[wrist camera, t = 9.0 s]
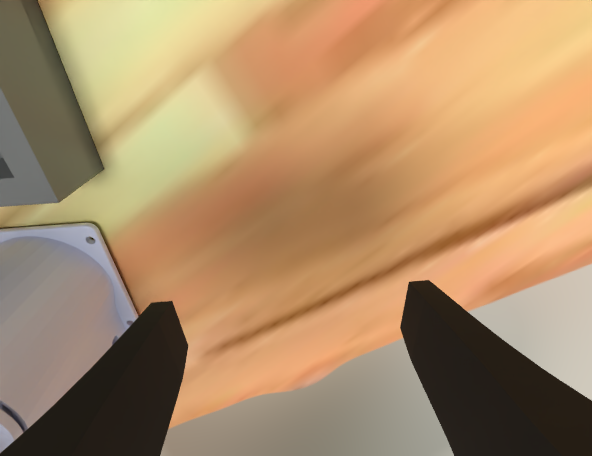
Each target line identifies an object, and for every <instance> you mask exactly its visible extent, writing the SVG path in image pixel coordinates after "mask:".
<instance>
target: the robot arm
mask: <svg viewBox="0 0 592 456" xmlns="http://www.w3.org/2000/svg"><path fill="white" fill-rule="evenodd" d="M90 237H92V238H94V239H95V240H92V239H90ZM400 328H401V331H402V334H403V338H404V341H405V344H406V347H407V350H408V353H409V356H410V359H411V361H412V363H413V366H414V368H415V370H416V372H417V374H418V377H419V379H420V381H421V383H422V385H423V388H424V390H425V392H426V394H427V396H428V398H429V400H430V403H431V404H432V407H433V409H434V411H435V413H436V415H437V418H438V420H439V422H440V424H441V426H442V428H443V431H444V433H445V435H446V437H447V439H448V442H449V444H450V447H451V448H452V451H453V453H454V456H592V401H591V400H590V399H588V398H587V397H585V396H583V395H582V394H580V393H579V392H577V391H576V390H574V389H573V388H571V387H570V386H568V385H566V384H565V383H563V382H562V381H560V380H559V379H557V378H556V377H554V376H553V375H551V374H549V373H548V372H547V371H545V370H544V369H542V368H541V367H539V366H538V365H537V364H535V363H534V362H533V361H531V360H530V359H528V358H527V357H526V356H524V355H523V354H521V353H520V352H519V351H517V350H516V349H514V348H513V347H512V346H510V345H509V344H508V343H506V342H505V341H504V340H502V339H501V338H500V337H499V336H497V335H496V334H494V333H493V332H492V331H491V330H489V329H488V328H487V327H486V326H484V325H483V324H482V323H481V322H479V321H478V320H477V319H476V318H474V317H473V316H472V315H470V314H469V313H468V312H467V311H466V310H464V309H463V308H462V307H461V306H460V305H458V304H457V303H456V302H455V301H454V300H452V299H451V298H450V297H449V296H447V295H446V294H445V293H444V292H443V291H441V290H440V289H439V288H438V287H437V286H435V285H434V284H433V283H432V282H430V281H429V280H425V281H413V282H409V284H408V290H407V295H406V300H405V306H404V311H403V316H402V321H401V327H400ZM187 350H188V344H187V341H186V338H185V335H184V333H183V330H182V327H181V324H180V322H179V319H178V316H177V313H176V311H175V308H174V305H173V302H172V301H168V302H155V303H151V304H150V305H149V306H148V307H147V308H146V309H145V310H144V311H143V313H142V314H141V315H140V316H138V314H137V312H136V310H135V308H134V305H133V303H132V301H131V299H130V297H129V295H128V292H127V290H126V288H125V286H124V284H123V281H122V279H121V277H120V275H119V273H118V270H117V268H116V266H115V264H114V262H113V260H112V257H111V255H110V253H109V251H108V249H107V246H106V244H105V242H104V240H103V238H102V235H101V233H100V231H99V229H98V228H97V226H95V225H94V224H92V223H75V224H62V225H48V226H34V227H21V228H7V229H0V456H160V454H161V450H162V447H163V444H164V440H165V437H166V434H167V430H168V427H169V424H170V420H171V417H172V414H173V410H174V407H175V404H176V400H177V397H178V393H179V390H180V386H181V383H182V379H183V374H184V368H185V363H186V356H187Z"/></svg>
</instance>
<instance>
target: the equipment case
mask: <svg viewBox="0 0 592 456" xmlns="http://www.w3.org/2000/svg"><path fill="white" fill-rule="evenodd" d="M103 169H104V168H103V165H102V163H101V160H100V158H99V155H98V152H97V150H96V147H95V145H94V142H93V140H92V137H91V135H90V132H89V130H88V127H87V125H86V122H85V120H84V117H83V115H82V112H81V110H80V107H79V105H78V102H77V100H76V97H75V95H74V92H73V90H72V87H71V85H70V82H69V80H68V77H67V75H66V72H65V70H64V67H63V65H62V62H61V59H60V57H59V54H58V52H57V49H56V47H55V44H54V42H53V39H52V37H51V34H50V32H49V29H48V27H47V24H46V22H45V19H44V17H43V14H42V12H41V9H40V7H39V4H38V2H37V0H0V207H4V206H18V205H32V204H46V203H59V202H60V201H62V200H63V199H64V198H66V197H67V196H68V195H70V194H71V193H72V192H74V191H75V190H76V189H78V188H79V187H81V186H82V185H83V184H85V183H86V182H87V181H89V180H90V179H91V178H93V177H94V176H95V175H97V174H98V173H99V172H101V171H102V170H103Z"/></svg>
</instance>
